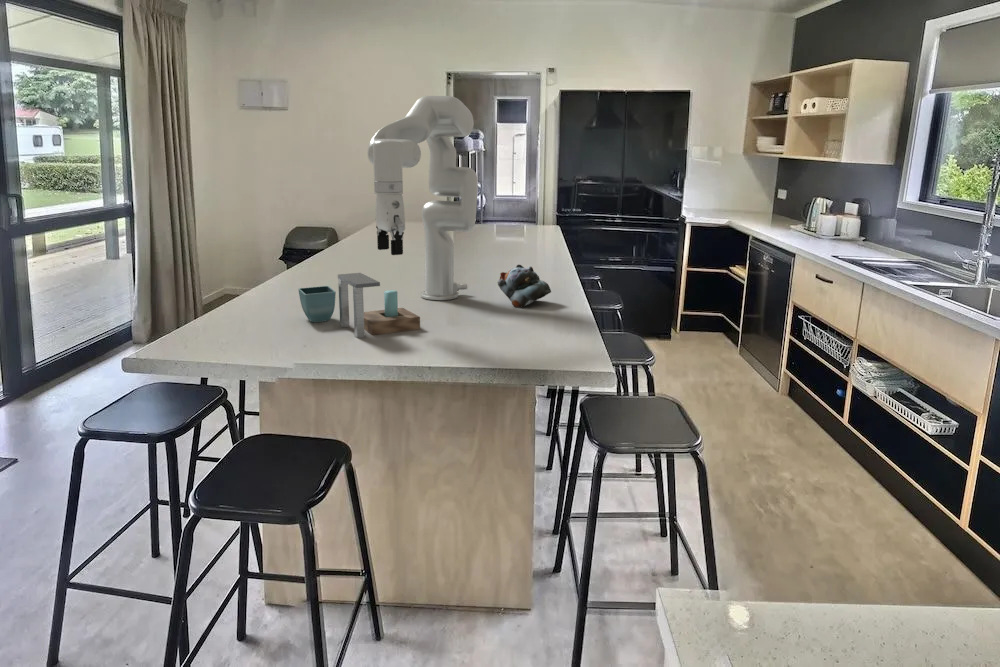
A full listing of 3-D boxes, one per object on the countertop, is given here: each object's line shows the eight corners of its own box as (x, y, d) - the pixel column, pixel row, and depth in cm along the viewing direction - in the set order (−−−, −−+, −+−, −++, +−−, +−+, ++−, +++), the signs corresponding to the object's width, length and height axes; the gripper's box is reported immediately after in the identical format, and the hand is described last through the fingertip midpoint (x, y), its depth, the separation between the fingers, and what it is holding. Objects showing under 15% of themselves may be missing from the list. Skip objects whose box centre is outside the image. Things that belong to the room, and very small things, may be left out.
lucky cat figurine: (517, 309, 222) (499, 268, 222) (505, 316, 233) (488, 277, 233) (558, 292, 227) (540, 252, 227) (544, 299, 238) (527, 261, 239)
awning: (361, 322, 203) (360, 272, 199) (381, 335, 191) (379, 282, 187) (339, 325, 200) (337, 274, 196) (357, 338, 188) (356, 284, 184)
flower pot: (306, 325, 200) (304, 294, 197) (299, 318, 207) (297, 287, 205) (337, 322, 204) (336, 291, 201) (329, 315, 211) (328, 285, 209)
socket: (403, 319, 208) (402, 307, 207) (420, 329, 198) (419, 316, 197) (356, 324, 201) (356, 312, 200) (372, 335, 191) (371, 322, 190)
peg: (395, 324, 202) (394, 289, 200) (400, 327, 199) (399, 292, 197) (383, 325, 201) (382, 290, 198) (387, 328, 198) (387, 293, 195)
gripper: (414, 190, 185) (415, 255, 189) (389, 185, 199) (390, 246, 204) (387, 191, 181) (389, 257, 186) (363, 186, 195) (365, 248, 200)
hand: (390, 252), depth 195 cm, fingers open, 9 cm apart
